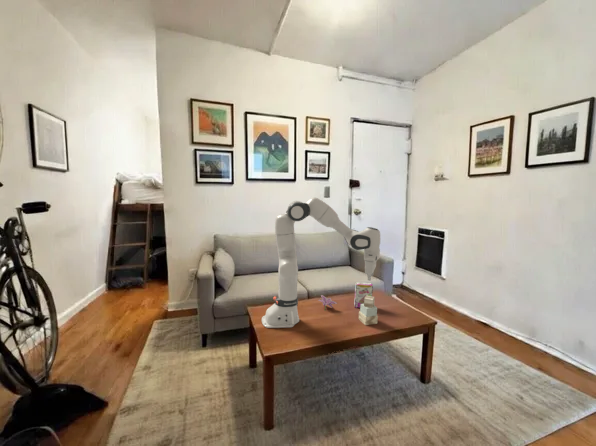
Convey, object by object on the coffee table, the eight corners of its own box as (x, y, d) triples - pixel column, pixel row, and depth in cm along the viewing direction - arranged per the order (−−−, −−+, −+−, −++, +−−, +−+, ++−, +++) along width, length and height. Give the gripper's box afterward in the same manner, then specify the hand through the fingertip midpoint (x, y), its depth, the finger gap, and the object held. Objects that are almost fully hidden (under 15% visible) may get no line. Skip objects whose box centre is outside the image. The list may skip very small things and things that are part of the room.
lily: (338, 313, 175) (339, 298, 179) (326, 310, 168) (327, 294, 172) (325, 312, 184) (326, 298, 187) (313, 309, 177) (314, 294, 181)
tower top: (366, 316, 157) (366, 308, 157) (360, 311, 164) (360, 303, 163) (376, 315, 159) (377, 307, 159) (370, 310, 166) (370, 302, 165)
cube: (372, 308, 158) (372, 299, 157) (363, 306, 160) (364, 298, 160) (374, 305, 162) (374, 297, 162) (365, 303, 165) (366, 295, 164)
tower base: (365, 325, 158) (365, 317, 157) (358, 319, 165) (358, 311, 165) (377, 323, 160) (377, 315, 159) (370, 317, 167) (370, 310, 167)
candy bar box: (354, 308, 181) (355, 284, 179) (354, 304, 186) (355, 281, 184) (371, 309, 180) (373, 285, 178) (370, 305, 185) (371, 282, 183)
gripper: (368, 250, 169) (367, 272, 170) (363, 258, 150) (362, 282, 151) (379, 252, 166) (378, 273, 168) (375, 259, 147) (373, 283, 149)
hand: (370, 277), depth 159 cm, fingers open, 8 cm apart
